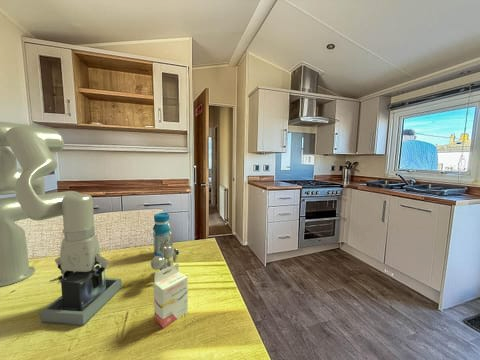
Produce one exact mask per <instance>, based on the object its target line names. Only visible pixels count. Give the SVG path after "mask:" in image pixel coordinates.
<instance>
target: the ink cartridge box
mask: <svg viewBox="0 0 480 360" xmlns="http://www.w3.org/2000/svg"><path fill="white" fill-rule="evenodd" d="M179 266H180V265H179V263H178V262H177V263H175V264H173V266H170V267H168V268H165V269H163V270H161V271H160V270H159V271H157V272H155V273H154V276H153V277H154V278H153V280H154V281H153V300H154V301H153V303H154V305H153V307H154V321H155V322H156V323H157V324H159V325H160V327H162V329H164V328H166V327H167V326H169V325H170V324H171V323H173V322H175V321H176V320H178V319H179V318H181V317H182V316H184V315H186V314H187V313H188V311H189V308H188V307H189V305H188V302H189V301H188V299H189V298H188V295H189V294H188V293H189V292H188V290H189V289H188V287H189V286H188V276H186V275H185V274H184V273H182V272H180V271H179V269H180V268H179ZM167 270H168V271H169V270H171V272H169V273H166V274H164V275H163V273H165V272H166V271H167Z"/></svg>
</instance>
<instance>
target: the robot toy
mask: <svg viewBox="0 0 480 360" xmlns="http://www.w3.org/2000/svg"><path fill="white" fill-rule="evenodd" d="M161 250H162V251H161ZM159 251H161V255H162V257H161V256H156V257H155V256H154V257H153V258H152V259H151V260H150V267H151V268H152V269H153V270H159V271H161V270H163V269H165V268H168V267H170V266H173V265H174V264H173V262H174V263H175V264H176V262H177V259H178V255H180V249H179V248H175V247H174V243H173V241H172V240H171V241H169V242H168V239H167V238H166V239H164V240H163V241H160V243H159ZM171 258H172V261H173V262H172V261H171V260H170V259H171ZM169 272H171V270H169V271H168V270H167V271H166V272H165V273H163V275H164V274H166V273H169Z"/></svg>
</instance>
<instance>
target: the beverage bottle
mask: <svg viewBox="0 0 480 360" xmlns="http://www.w3.org/2000/svg"><path fill="white" fill-rule="evenodd" d="M153 219H154V223H155V224H153V227H152V231H153V232H152V237H153V256H154V257H156V256H161V257H162V255H161V251H162V250H161V251H159V243H160V241H163V240H164V239H166V238H167V239H168V242H169V241H171V242H172V229H171V228H172V226H171V224H170V222H169V221H170V214H169V212H159V213H155V214H154V217H153Z"/></svg>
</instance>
